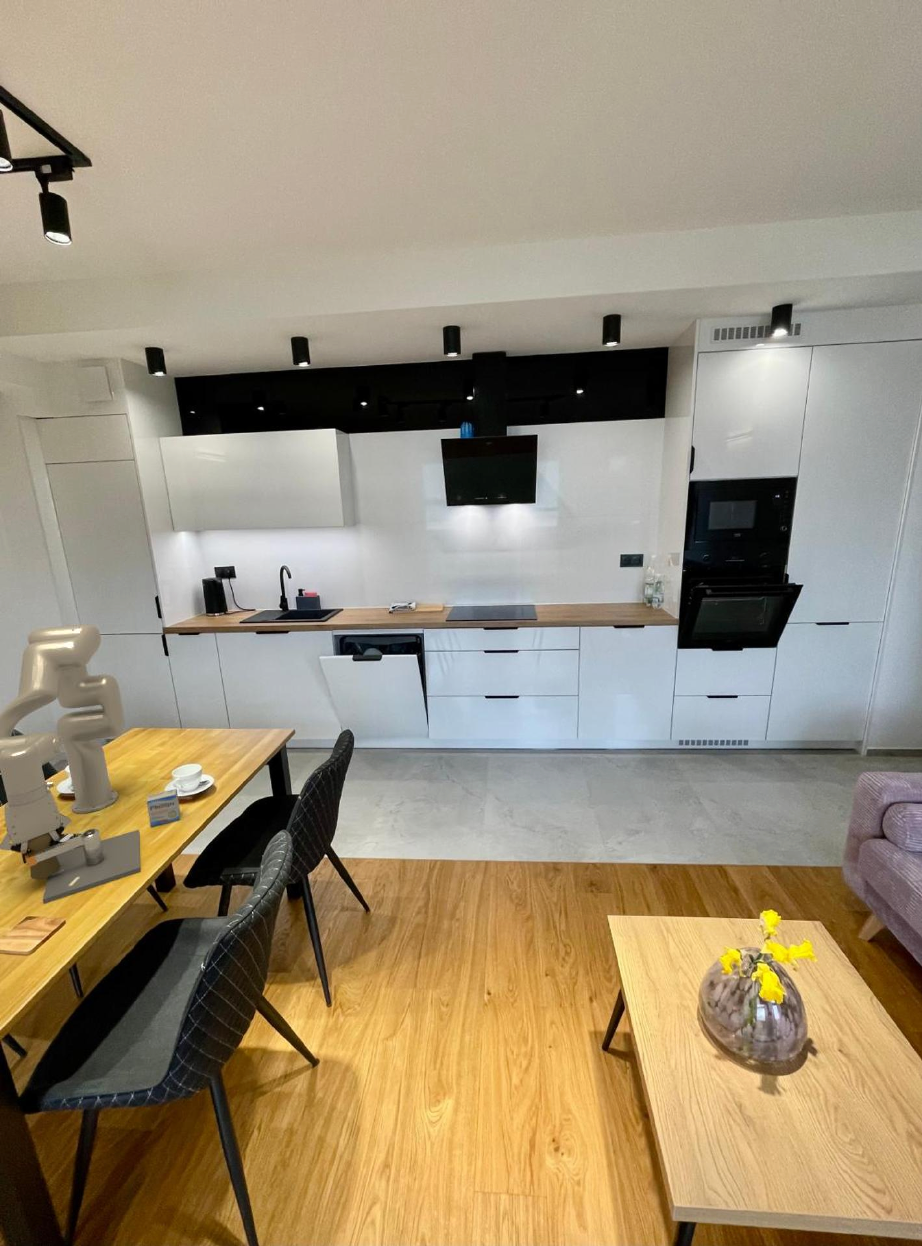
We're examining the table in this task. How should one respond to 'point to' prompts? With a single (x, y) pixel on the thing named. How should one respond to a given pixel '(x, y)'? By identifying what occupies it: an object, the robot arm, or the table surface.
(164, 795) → the medicine box
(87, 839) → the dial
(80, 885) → the dial plate
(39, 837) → the cork
